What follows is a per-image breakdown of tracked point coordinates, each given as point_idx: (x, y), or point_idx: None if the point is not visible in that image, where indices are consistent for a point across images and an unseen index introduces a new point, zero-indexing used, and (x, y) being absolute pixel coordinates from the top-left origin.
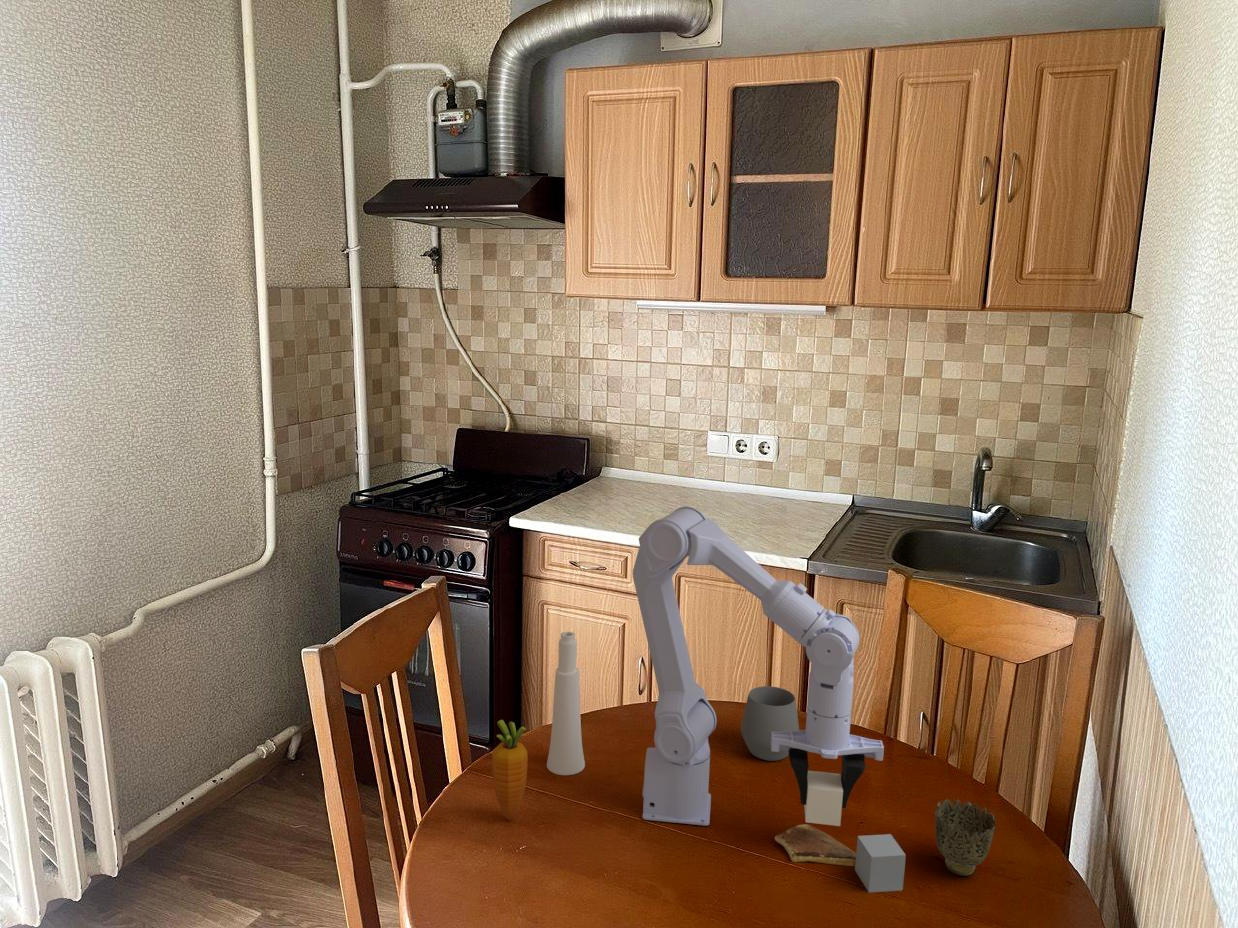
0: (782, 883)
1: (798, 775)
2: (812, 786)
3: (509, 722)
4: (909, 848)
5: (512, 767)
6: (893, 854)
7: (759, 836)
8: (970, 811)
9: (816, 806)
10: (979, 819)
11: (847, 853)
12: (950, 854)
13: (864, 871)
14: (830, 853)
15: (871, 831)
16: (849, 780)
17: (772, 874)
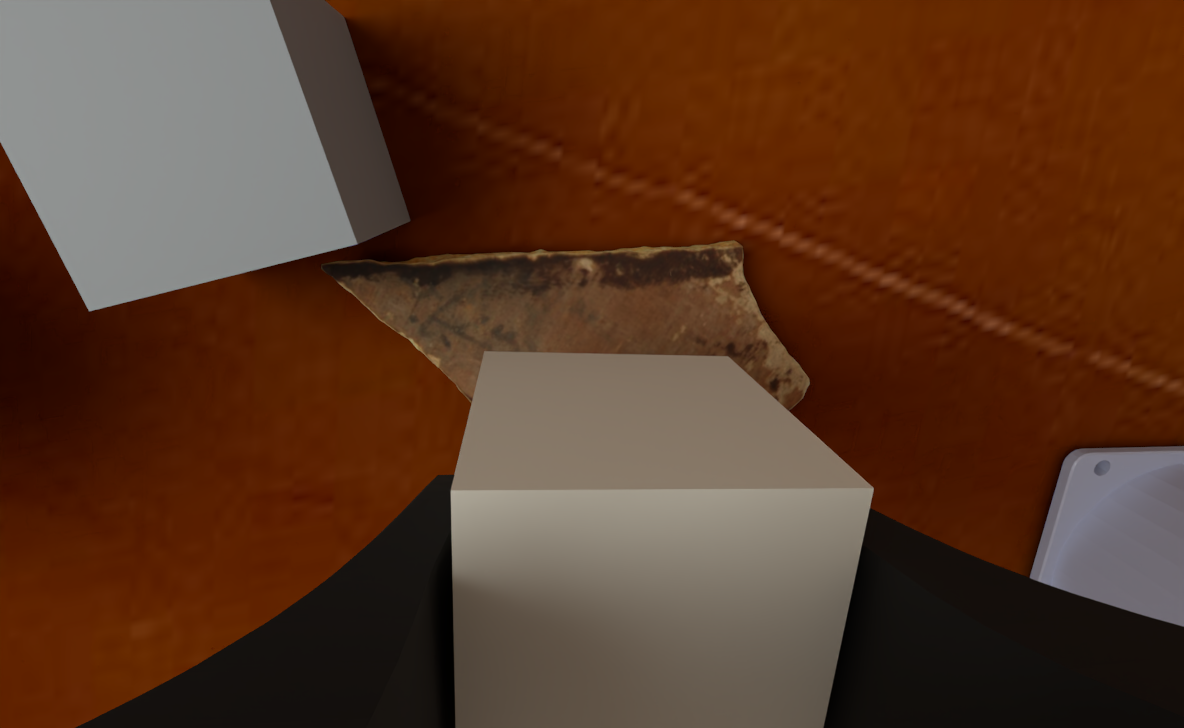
0: (810, 41)
1: (1080, 604)
2: (814, 526)
3: None
4: (107, 454)
5: None
6: (48, 3)
7: (851, 419)
8: None
9: (698, 401)
10: None
11: (442, 310)
12: None
13: (350, 90)
14: (537, 291)
15: (307, 554)
16: (334, 640)
17: (847, 116)
